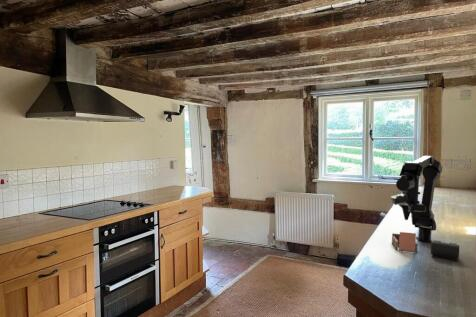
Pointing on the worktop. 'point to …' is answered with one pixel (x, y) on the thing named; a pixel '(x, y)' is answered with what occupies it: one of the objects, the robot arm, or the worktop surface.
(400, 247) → the salmon pink flat panel
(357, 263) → the worktop surface
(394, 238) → the brown wooden open frame
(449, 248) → the end cap
